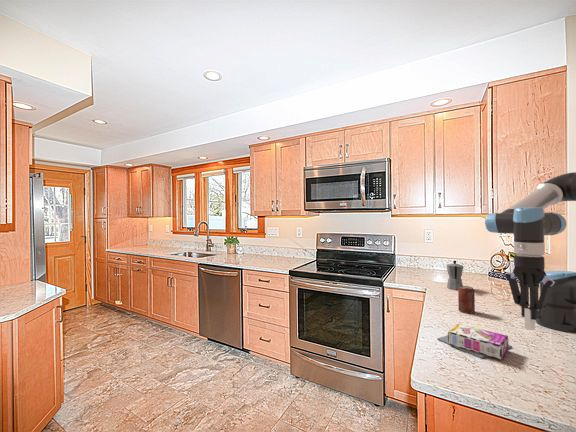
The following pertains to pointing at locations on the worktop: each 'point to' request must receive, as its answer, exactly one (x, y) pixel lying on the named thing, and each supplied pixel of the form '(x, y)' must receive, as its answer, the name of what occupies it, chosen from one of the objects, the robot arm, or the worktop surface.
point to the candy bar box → (478, 340)
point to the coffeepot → (454, 276)
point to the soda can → (466, 299)
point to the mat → (479, 355)
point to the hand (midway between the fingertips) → (529, 328)
